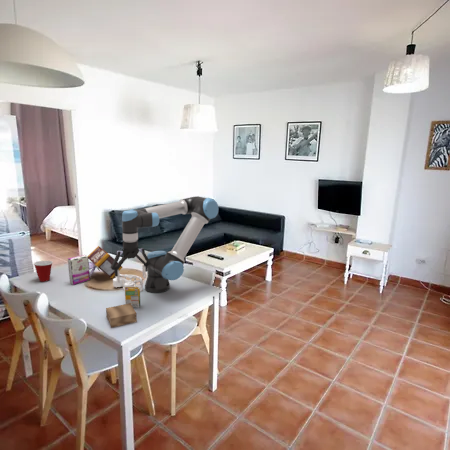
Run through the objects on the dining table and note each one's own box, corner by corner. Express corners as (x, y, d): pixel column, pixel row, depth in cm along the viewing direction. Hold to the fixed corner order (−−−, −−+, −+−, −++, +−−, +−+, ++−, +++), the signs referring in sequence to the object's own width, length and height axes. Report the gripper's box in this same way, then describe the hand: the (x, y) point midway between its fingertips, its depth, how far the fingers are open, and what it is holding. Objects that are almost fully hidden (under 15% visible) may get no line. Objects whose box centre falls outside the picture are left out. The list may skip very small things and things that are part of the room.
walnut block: (130, 312, 165) (130, 303, 164) (136, 322, 155) (136, 312, 154) (106, 317, 159) (105, 308, 158) (111, 328, 149) (110, 318, 148)
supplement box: (112, 258, 220) (98, 245, 210) (123, 267, 210) (108, 253, 200) (101, 270, 217) (86, 256, 206) (111, 279, 207) (96, 265, 196)
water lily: (108, 274, 212) (99, 267, 206) (88, 282, 214) (79, 275, 208) (109, 258, 222) (101, 250, 216) (91, 266, 224) (83, 259, 218)
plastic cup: (57, 279, 205) (56, 261, 202) (40, 284, 196) (38, 266, 194) (49, 275, 211) (47, 258, 208) (32, 280, 202) (30, 262, 200)
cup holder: (109, 287, 195) (109, 276, 193) (124, 282, 203) (124, 271, 202) (130, 296, 183) (130, 284, 182) (145, 290, 192) (145, 278, 190)
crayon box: (140, 305, 172) (139, 285, 170) (139, 307, 169) (138, 287, 167) (127, 305, 172) (126, 284, 169) (125, 307, 169) (124, 287, 166)
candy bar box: (86, 278, 208) (84, 254, 204) (90, 280, 205) (88, 256, 201) (69, 283, 199) (67, 258, 196) (72, 285, 196) (71, 260, 193)
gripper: (151, 236, 173) (151, 273, 177) (103, 241, 159) (105, 281, 164) (156, 239, 166) (156, 277, 171) (106, 244, 153) (108, 286, 157)
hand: (131, 279), depth 167 cm, fingers open, 13 cm apart
